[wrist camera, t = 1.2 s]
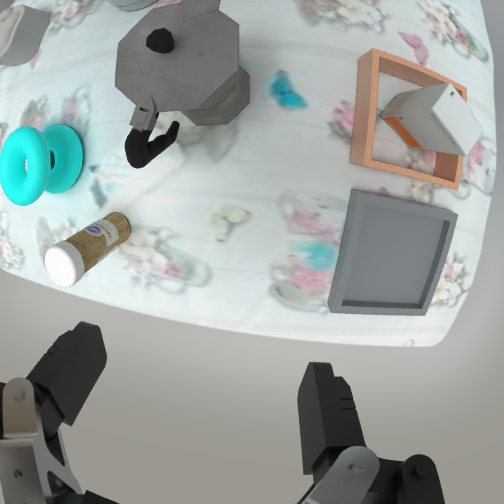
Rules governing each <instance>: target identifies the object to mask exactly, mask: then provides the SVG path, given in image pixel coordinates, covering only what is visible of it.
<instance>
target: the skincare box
mask: <svg viewBox="0 0 504 504" xmlns="http://www.w3.org/2000/svg"><path fill="white" fill-rule="evenodd" d="M380 116H381V117H382V118H383V119H384V120H385V121H386V122H387V123H388V124H389V125H390V126H391V127H392V128H393V129H394V130H395V132H396V133H397V134H398V135H399V136H400V137H401V138H402V140H403V141H404V142H405V143H406V144H407V146H408V147H409V148H415V149H423V150H430V151H437V152H443V153H450V154H455V155H461V156H467V155H468V154H469V152H470V151H471V149H472V148H473V146H474V145H475V143H476V142H477V140H478V139H479V137H480V136H481V134H482V133H483V129H482V127H481V126H480V124H479V122H478V121H477V119H476V118H475V116H474V114H473V112H472V110H471V109H470V107H469V106H468V105H467V103H466V102H465V101H464V100H463V98H462V97H461V96H460V94H459V93H458V92H457V90H456V89H455V88H454V86H453V85H452V84H451V83H450V82H448V83H444V84H439V85H435V86H430V87H426V88H422V89H418V90H414V91H410V92H406V93H402V94H399V95H396V96H395V98H394V99H393V100H392V101H391V102H390V103H389V105H388V106H387V107H386V108H385V109H384V111H383V112H382V113H381V114H380Z"/></svg>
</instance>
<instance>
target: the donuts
mask: <svg viewBox="0 0 504 504" xmlns="http://www.w3.org/2000/svg"><path fill="white" fill-rule="evenodd" d="M51 151H53V153H54V155H55V165H54V168H53V169H52V168H51V159H50V154H51ZM26 157H27V161H28V172H26V170H25V160H26ZM82 161H83V151H82V145H81V142H80V139H79V137H78V135H77V134H76V133H75V131H74V130H72V129H71V128H70V127H68V126H65V125H55V126H52V127H50V128H48V129H47V130H45V131H44V132H43V133H41V132H40V131H39V130H37V129H36V128H34V127H31V126H23V127H20V128H18V129H16V130H15V131H14V132H12V133H11V134H10V136H9V137H8V138H7V140H6V142H5V143H4V145H3V148H2V151H1V155H0V182H1V186H2V188H3V191H4V193H5V194H6V196H7V197H8V198H9V200H10V201H12V202H13V203H15V204H17V205H20V206H26V205H29V204H32V203H33V202H35V201H36V200H37V199H38V198H39V197H40V196H41V194H42V193H43V191H44V190H45V191H47V192H49V193H54V194H57V193H62V192H64V191H66V190H68V189H69V188H70V187H71V186H72V185H73V184H74V183H75V181H76V180H77V178H78V176H79V173H80V171H81V167H82Z"/></svg>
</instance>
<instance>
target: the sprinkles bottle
mask: <svg viewBox="0 0 504 504" xmlns="http://www.w3.org/2000/svg"><path fill="white" fill-rule="evenodd" d="M129 235H130V227H129V223H128V221H127V219H126V218H125V217H124V216H123V215H121V214H119V213H110V214H108V215H107V216H106V217H104V218H103V219H101V220H98V221H96V222H94V223H92V224H91V225H89V226H87V227H85V228H84V229H83V230H81V231H79V232H77V233H76V234H74V235H73V236H71V237H70V238H68V239H67V240H65V241H60V242H58V243H57V244H55V245H53V246H52V247H50V248H49V249H48V251H47V252H46V255H45V265H46V269H47V272H48V274H49V275H50V277H51V279H52V280H53V281H54V282H55V283H56V284H58V285H59V286H61V287H65V288H68V287H71V286H73V285H74V284H75V283H76V282H78V281H79V280H80V279H81V278H82V276H83V275H84V273H86V272H87V271H88V270H89V269H91V268H92V267H93V266H95V265H96V264H97V263H99V262H100V261H101V260H102V259H104V258H105V257H106V256H107V255H108V254H110V253H111V252H112V251H113V250H115V249H116V248H117V246H119V245H120V244H121V243H124V242H125V241H126V240H127V239H128V237H129Z"/></svg>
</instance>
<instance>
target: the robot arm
mask: <svg viewBox="0 0 504 504" xmlns="http://www.w3.org/2000/svg"><path fill="white" fill-rule="evenodd" d="M107 1H108V2H110V3H111V4H112V5H114V6H115V7H116V8H118V9H119V10H122V11H135V10H139V9H142V8H144V7H147V6H149V5H150V4H152V3H154V2H155V1H157V0H107ZM106 361H107V354H106V350H105V346H104V342H103V338H102V334H101V330H100V327H99V326H97V325H94V324H90V323H86V322H83V321H82V322H79V324H78V325H77V326H76V327H75V328H74V329H73V330H72V331H71V330H69V331H68V332H66V333H64V334H62V335H61V336H59V337H58V339H57V340H56V341H55V342H54V343H53V346H51V347H50V348H49V349H48V351H47V353H45V354H44V356H43V357H42V358H41V359H40V361H39V362H38V363H37V364H36V366H35V367H34V369H33V370H32V371H31V372H30V374H29V375H28V376H27V377H26V378H14V379H12V380H10V381H9V382H8V383H7V384H6V383H2V382H0V481H1V486H2V491H3V496H4V500H5V504H118V503H117V502H114V501H112V500H109V499H107V498H104V497H102V496H99V495H97V494H95V493H92V492H90V491H88V490H86V492H85V494H83V493H82V490H81V488H80V485H79V483H78V481H77V480H76V478H75V476H74V475H73V473H72V471H71V469H70V466H69V462H68V458H67V455H66V451H65V447H64V443H63V438H62V434H61V430H60V428H59V426H60V425H61V422H63V423H65V424H68V425H69V426H72V425H73V423H74V421H75V419H76V417H77V415H78V414H79V412H80V410H81V408H82V406H83V404H84V403H85V401H86V399H87V397H88V395H89V394H90V392H91V390H92V388H93V387H94V385H95V383H96V381H97V380H98V378H99V376H100V375H101V373H102V371H103V369H104V368H105V365H106ZM355 408H356V406H355V403H354V401H353V396H352V392H351V389H350V386H349V385H348V384H347V382H346V381H345V380H344V379H343V377H334V374H333V369H332V366H331V364H330V363H324V362H323V363H322V362H309V364H308V366H307V369H306V372H305V374H304V377H303V379H302V382H301V385H300V387H299V391H298V413H299V424H300V436H301V448H302V461H303V474H304V475H311V474H313V479H314V483H313V484H312V485H311V486H310V487H309V488H308V490H307V491H306V492H305V493H304V495H303V496H302V497H301V498H300V499H299V500H298V501H297V503H296V504H445V501H444V497H443V493H442V488H441V484H440V480H439V476H438V473H437V469H436V466H435V464H434V462H433V461H432V460H431V459H430V458H429V457H428V456H425V455H421V454H417V455H413V456H411V457H409V458H408V459H407V460H406V461H395V460H387V459H382V458H379V457H377V455H376V454H375V453H374V452H373V451H372V450H370V449H368V448H367V446H366V444H365V441H364V437H363V433H362V429H361V425H360V421H359V418H358V414H357V411H356V409H355Z"/></svg>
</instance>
